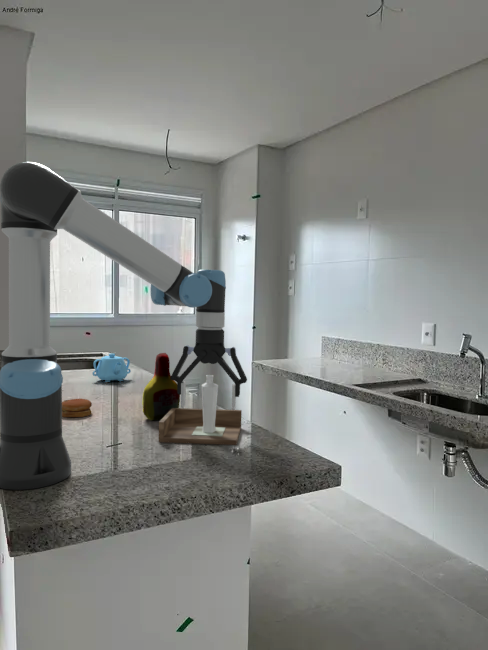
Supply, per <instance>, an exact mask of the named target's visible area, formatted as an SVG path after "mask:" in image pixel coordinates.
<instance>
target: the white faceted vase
mask: <svg viewBox="0 0 488 650" xmlns="http://www.w3.org/2000/svg"><path fill="white" fill-rule="evenodd" d="M205 377H206V380H205V382H203V383H202V384H201V404H202V405H201V406H202V407H201V409H203V428H202V431H203V432H206V433H213V432H215V431H216V427H215V418H216V409H217V404H218V393H219V384H217V383H215V382H214V377H215V376H214V375H213V374H206V375H205Z"/></svg>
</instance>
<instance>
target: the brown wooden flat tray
mask: <svg viewBox="0 0 488 650" xmlns="http://www.w3.org/2000/svg"><path fill="white" fill-rule="evenodd" d="M215 427H216V431H215V432H213V433H206V432H203V431H202V428H203V408H192V407H191V408H189V407H188V408H186V407H184V408H181V407H179V408H172V409H171V410H170V411H169V412H168V413H167V414H166V415H165V416H164V417H163V418H162V419H159V421H158V443H167V444H168V443H171V444H173V443H174V444H194V445H195V444H199V445H221V446H222V445H224V446H225V445H226V446H237V444H238V441H239V438H240V433H241V431H242V409H235V410H232V409H224V408H223V409H222V408H221V409H218V408H216V418H215Z"/></svg>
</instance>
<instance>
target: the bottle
mask: <svg viewBox="0 0 488 650" xmlns="http://www.w3.org/2000/svg"><path fill="white" fill-rule="evenodd" d="M154 363H155V364H154V373H153V377H152V378H151V379H150V380H149V382H148V383H147V384H146V385H145V387H144V389H143V391H142V401H141V404H142V413H143V415H144V416H145V417H146V419H147V420H150V421H157V420H161V419H162V418H163V417H164V416H165V415H166V414H167V413H168V412H169V411H170V410H171V409H172V408H180V402H181V395H180V394H178V393H177V382H176V381H174V380H171V378H170V377H171V375H172V374H171V371H170V370H171V369H170V364H171V363H170V356H169V355H168V354H167V353H166V352H160V353H158V354H157V355H156V357H155V361H154Z"/></svg>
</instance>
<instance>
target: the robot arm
mask: <svg viewBox="0 0 488 650" xmlns="http://www.w3.org/2000/svg"><path fill="white" fill-rule="evenodd" d="M0 208H1V209H0V210H1V211H0V223H1V224H0V227H1V228H0V229H1V232H2V233H3V234H4V235H5V236H6V237H7V238H8V346H7V347H6V348H5V350H3V351H2V352H1V368H0V489H4V490H11V491H13V490H15V491H17V490H21V491H22V490H32V489H39V488H43V487H44V488H45V487H48V486H51V485H55V484H57V483H60V482H62V481H64V480H65V479H67V478H69V476H70V475H71V474H72V459H71V457H70V455H69V452H68V449H67V446H66V443H65V441H64V437H63V417H62V402H63V396H62V395H63V388H62V386H63V382H64V381H63V379H64V377H63V373H62V368H61V366H60V365H59V364H58V363H57V362H58V355H57V354H58V352H57V351H56V349H54V348H53V347H52V346H51V241H52V240H53V239H54V238H55V237H56V236H58V230H64V231H65V232H67V233H69V234H70V235H72V236H74V237H75V238H76V239H78V240H80V241H81V242H83V243H84V244H87V245H88V246H89V247H91V248H93V249H94V250H96V251H97V252H99V253H100V254H103V255H104V256H105V257H107V258H109V259H110V260H112V261H113V262H115V263H116V264H118V265H120V266H121V267H123V268H125V269H126V270H128V271H129V272H131V273H132V274H134V275H135V276H137V277H138V278H141V280H144V281H145V282H147V283H148V284H149V285H150V299H151V301H152V303H153V304H154V305H158V306H160V305H161V306H163V307H164V306H178V307H179V306H180V307H188V308H194V309H195V308H196V309H195V310H196V311H195V327H196V328H197V329H196V330H195V344H194V346H189V345H188V344H187V345H184V347H183V349H182V350H183V351H182V354H181V356H180V358H179V360H178V362H177V364H176V366H175V367H174V370H173V372H172V373H171V374H170V375H171V377H170V378H171V380H174V381H175V382H176V383H177V393H178V394H180V408H186V400H187V399H186V396H187V395H186V394H187V393H186V391H187V390H186V387H187V381H184V380H185V378H187V377H188V376H189V374H190V373H192V371H193V370H194V369H195V368H196V366H198V364H199V363H202V364H203V365H204V364H210V365H216V364H217V363H218V365H219V366H220V367H221V368H222V369H223V370H224V372H225V373H226V374H227V375H228V377H229V378H230V379H231V381H232V382H233V384H232V386H231V410H236V403H237V401H236V398H239V397H240V395H241V385H242V384H245V383H247V381H248V378H247V375H246V373H245V371H244V370H243V367H242V365H241V362H240V361H239V359H238V356H237V350H236V349H237V348H236V347H235V346H232V347H226V348H225V330H224V329H223V328H224V327H225V317H226V316H225V313H226V312H225V311H226V310H225V309H226V308H225V307H226V304H225V303H226V289H227V286H226V285H227V284H226V273H225V272H224V271H223V270H221V269H199V270H197V272H193V271H192V270H190V269H188V268H187V267H185V266H184V265H182V264H181V263H179V262H178V261H176V260H175V259H173V257H170V256H169V255H167V254H166V253H164V252H163V251H162V250H160V249H159V248H157V247H155V246H154V245H152V244H151V243H149V242H148V241H147V240H146V239H144V238H142V237H141V236H139V235H138V234H136V233H135V232H133V231H132V230H130V229H128V227H126V226H124V224H121V223H120V222H118V221H117V220H116V219H114V218H112V216H109V215H108V214H107V213H105V212H104V211H102V210H100V209H99V208H98V207H97V206H95V205H93V204H92V203H90V202H89V201H87V200H86V199H84V198H83V195H82V192H81V190H80V189H78V188H77V187H75V186H74V185H73V184H71V183H70V182H68V181H66V180H65V178H63V177H61V176H60V175H59V174H57V173H56V172H54V171H53V170H51V169H50V168H49V167H47V166H45V165H43V164H41V163H38V162H33V161H22V162H17V163H15V164H12V166H9V168H7V169H6V171H5V172H4V173H3V174H2V176H1V180H0ZM192 353H194V354H195V357H196V358H195V359H194V360H193V361H192V362H191V364H190V365H189V366H188V367H187V368H186V369H185V370H184V371H183V372H182V373H181V375H179V373H180V372H181V370H182V368H183V366H184V364H185V363H186V361H187V359H188V357H189V355H191V354H192ZM226 353H227V356H229V357H230V359H231V360H232V363H233V365H234V367H235V370H236V372H237V374H238V375H239V377H238V376H237V374H235V372H234V370H232V368H231V367H230V366H229V364H228V363H227V362H226V361H225V359H224V358H223V356H224V355H225V354H226Z"/></svg>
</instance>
